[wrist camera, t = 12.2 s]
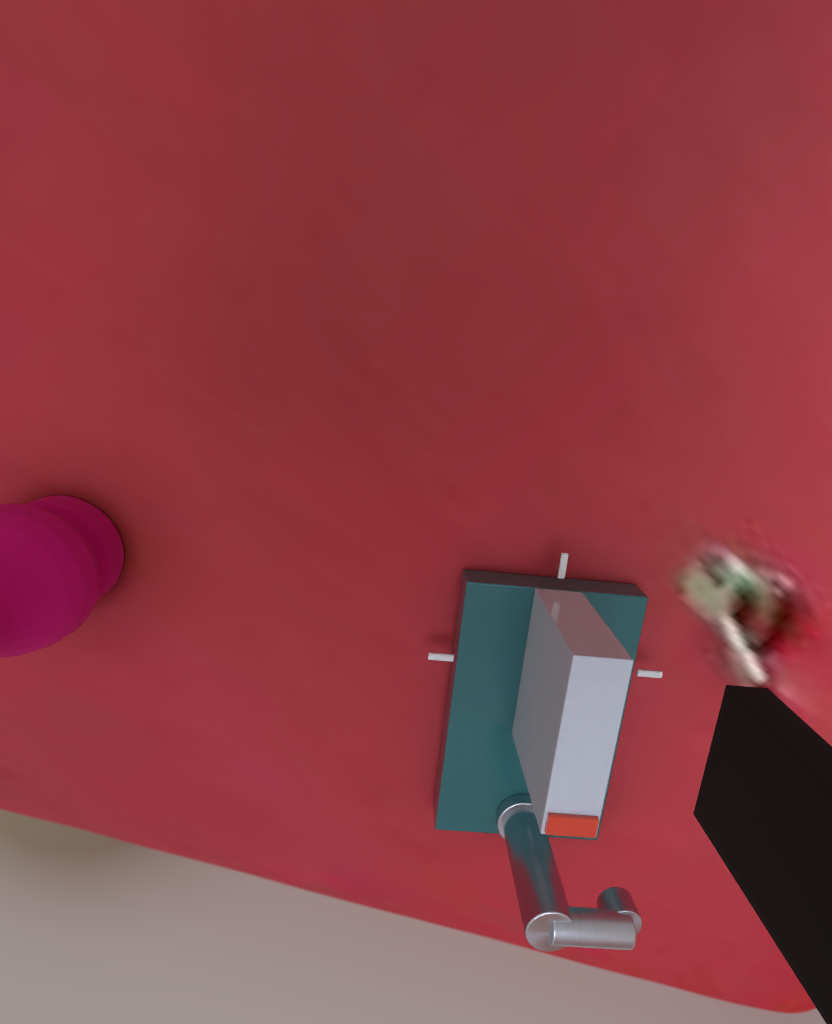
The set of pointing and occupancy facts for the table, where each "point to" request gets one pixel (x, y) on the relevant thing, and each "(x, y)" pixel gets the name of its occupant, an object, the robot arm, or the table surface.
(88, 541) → the pepper mill
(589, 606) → the white block
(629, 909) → the spout
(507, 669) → the teal base plate
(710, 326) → the table surface
